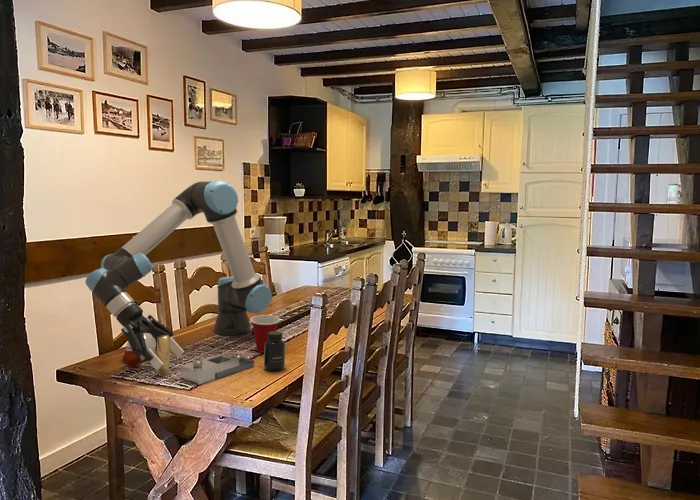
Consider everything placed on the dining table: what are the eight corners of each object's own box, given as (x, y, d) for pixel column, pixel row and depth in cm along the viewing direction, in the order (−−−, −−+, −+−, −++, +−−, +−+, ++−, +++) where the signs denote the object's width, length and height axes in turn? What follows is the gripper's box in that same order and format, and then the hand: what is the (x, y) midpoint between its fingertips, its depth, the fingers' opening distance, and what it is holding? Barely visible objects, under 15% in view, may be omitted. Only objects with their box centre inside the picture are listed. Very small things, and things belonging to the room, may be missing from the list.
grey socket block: (221, 365, 169) (220, 349, 169) (239, 371, 164) (239, 354, 163) (180, 378, 157) (180, 360, 156) (198, 384, 152) (198, 367, 151)
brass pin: (165, 370, 163) (164, 334, 162) (172, 373, 161) (171, 336, 160) (155, 373, 160) (154, 336, 159) (162, 376, 158) (161, 338, 157)
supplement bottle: (275, 373, 163) (275, 336, 162) (259, 369, 166) (259, 333, 165) (289, 367, 169) (289, 332, 167) (273, 363, 172) (273, 329, 171)
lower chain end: (236, 360, 174) (236, 350, 174) (254, 366, 169) (254, 356, 169) (198, 372, 162) (198, 361, 162) (216, 379, 157) (216, 368, 156)
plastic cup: (255, 356, 180) (255, 322, 179) (246, 347, 190) (246, 316, 188) (284, 352, 185) (284, 320, 184) (274, 344, 195) (274, 313, 193)
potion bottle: (150, 357, 181) (137, 377, 166) (125, 342, 179) (110, 361, 164) (164, 337, 180) (153, 355, 165) (140, 322, 177) (126, 339, 163)
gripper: (140, 309, 173) (182, 356, 172) (92, 327, 150) (141, 381, 148) (154, 295, 172) (196, 342, 171) (108, 310, 148) (157, 365, 147)
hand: (171, 360), depth 160 cm, fingers open, 12 cm apart
